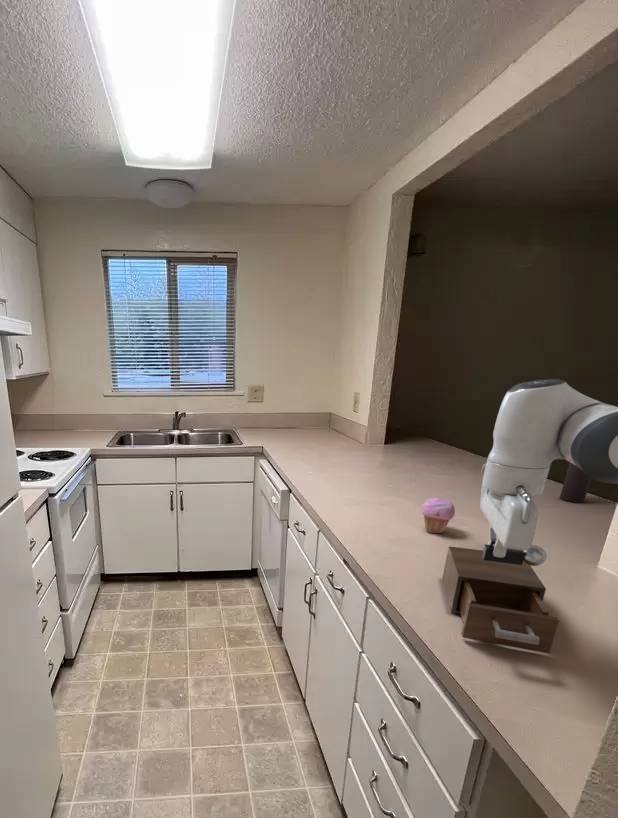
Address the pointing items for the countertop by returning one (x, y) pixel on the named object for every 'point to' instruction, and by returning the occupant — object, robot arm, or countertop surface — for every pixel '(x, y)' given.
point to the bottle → (575, 485)
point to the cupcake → (437, 514)
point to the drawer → (506, 616)
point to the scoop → (517, 556)
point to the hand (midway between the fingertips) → (495, 551)
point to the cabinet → (484, 574)
